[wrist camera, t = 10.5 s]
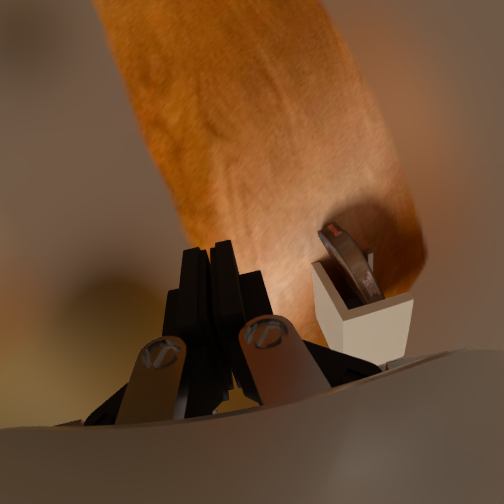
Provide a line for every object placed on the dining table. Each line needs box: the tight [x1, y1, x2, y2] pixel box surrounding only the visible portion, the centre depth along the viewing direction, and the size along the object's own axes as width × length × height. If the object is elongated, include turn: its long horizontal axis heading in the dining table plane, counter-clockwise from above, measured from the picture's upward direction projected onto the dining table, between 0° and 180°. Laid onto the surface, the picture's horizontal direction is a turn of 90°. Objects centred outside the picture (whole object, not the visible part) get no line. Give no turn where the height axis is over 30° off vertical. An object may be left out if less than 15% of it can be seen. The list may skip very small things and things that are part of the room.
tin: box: [318, 222, 385, 306], centre depth 41 cm, size 15×3×8 cm, turn 34°
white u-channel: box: [311, 249, 414, 366], centre depth 41 cm, size 10×9×12 cm
